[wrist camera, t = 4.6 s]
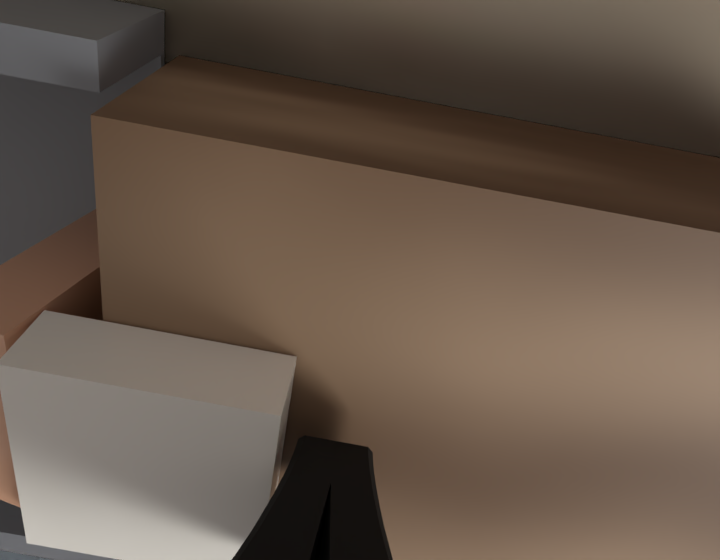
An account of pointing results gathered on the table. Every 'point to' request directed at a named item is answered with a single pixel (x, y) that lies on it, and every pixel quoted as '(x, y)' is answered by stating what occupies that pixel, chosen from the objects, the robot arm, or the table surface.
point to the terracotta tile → (46, 301)
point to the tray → (59, 131)
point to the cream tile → (142, 438)
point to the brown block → (439, 300)
